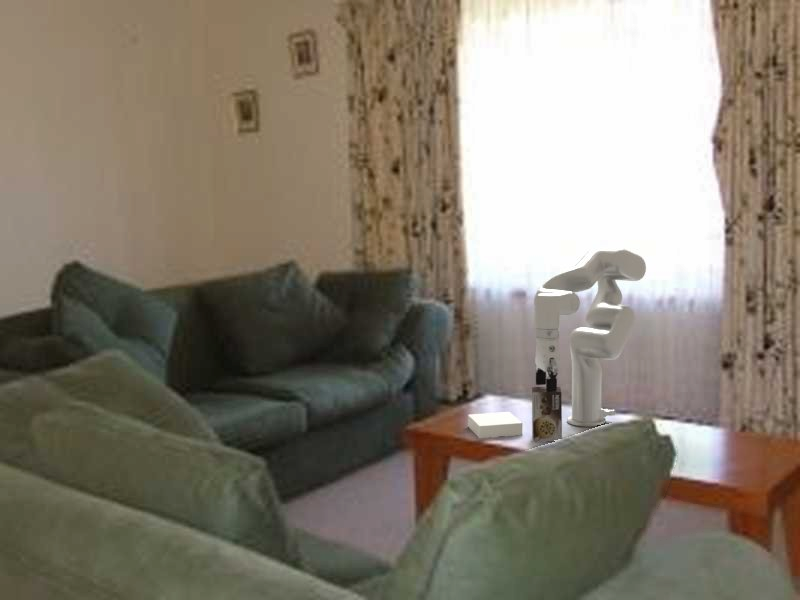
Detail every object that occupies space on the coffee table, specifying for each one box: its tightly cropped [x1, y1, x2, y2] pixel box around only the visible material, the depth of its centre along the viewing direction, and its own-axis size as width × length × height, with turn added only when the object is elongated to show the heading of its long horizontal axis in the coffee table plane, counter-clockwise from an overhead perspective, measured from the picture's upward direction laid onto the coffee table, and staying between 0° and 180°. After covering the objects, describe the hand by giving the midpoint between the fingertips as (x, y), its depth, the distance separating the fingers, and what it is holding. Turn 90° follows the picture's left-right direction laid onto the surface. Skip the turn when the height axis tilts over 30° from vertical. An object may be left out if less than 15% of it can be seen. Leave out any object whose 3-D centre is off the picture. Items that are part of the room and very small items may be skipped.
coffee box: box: [531, 386, 563, 443], centre depth 299 cm, size 9×6×16 cm
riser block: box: [467, 411, 523, 439], centre depth 311 cm, size 14×14×4 cm
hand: (546, 388), depth 298 cm, fingers open, 9 cm apart
